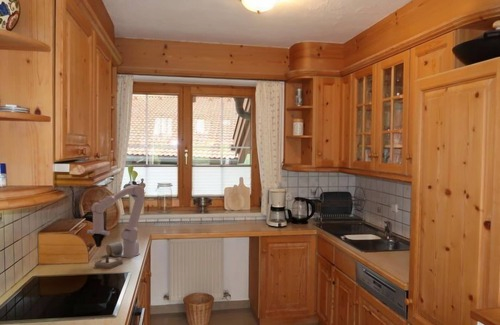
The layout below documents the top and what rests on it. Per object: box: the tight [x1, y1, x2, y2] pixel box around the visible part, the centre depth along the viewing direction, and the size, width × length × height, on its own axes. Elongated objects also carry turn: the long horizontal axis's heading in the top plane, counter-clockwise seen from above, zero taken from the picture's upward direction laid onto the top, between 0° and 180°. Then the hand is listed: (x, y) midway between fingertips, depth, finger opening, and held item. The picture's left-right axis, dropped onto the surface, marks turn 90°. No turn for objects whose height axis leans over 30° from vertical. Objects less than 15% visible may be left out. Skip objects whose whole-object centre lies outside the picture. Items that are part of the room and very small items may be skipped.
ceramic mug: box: [105, 241, 123, 258], centre depth 236 cm, size 11×8×8 cm
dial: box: [101, 254, 116, 263], centre depth 215 cm, size 8×8×5 cm
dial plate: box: [94, 256, 123, 270], centre depth 215 cm, size 10×11×3 cm
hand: (98, 246), depth 220 cm, fingers closed
